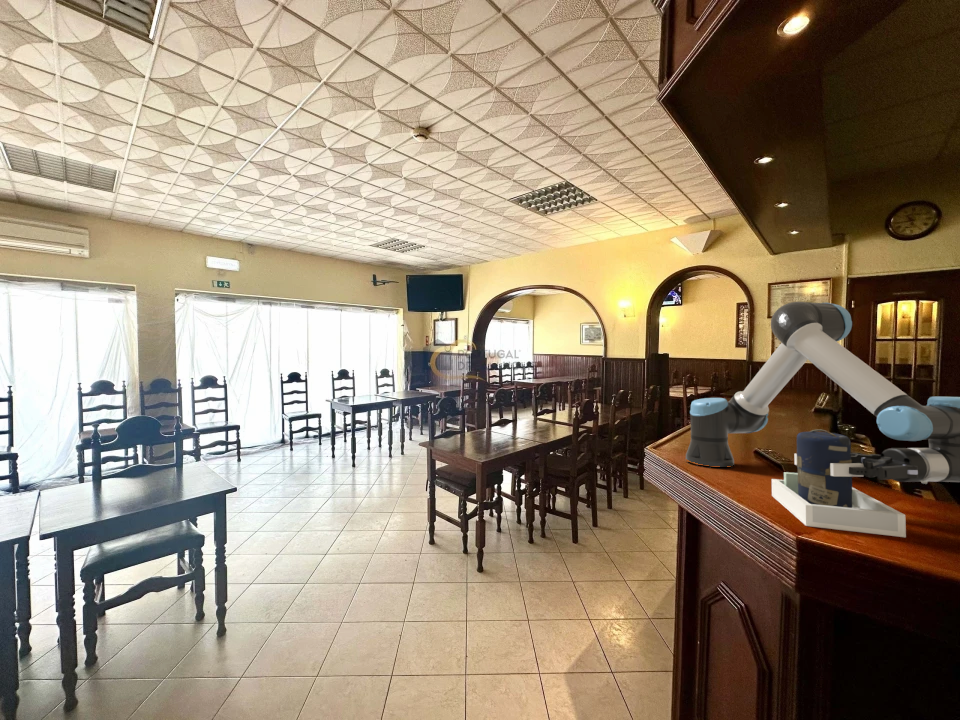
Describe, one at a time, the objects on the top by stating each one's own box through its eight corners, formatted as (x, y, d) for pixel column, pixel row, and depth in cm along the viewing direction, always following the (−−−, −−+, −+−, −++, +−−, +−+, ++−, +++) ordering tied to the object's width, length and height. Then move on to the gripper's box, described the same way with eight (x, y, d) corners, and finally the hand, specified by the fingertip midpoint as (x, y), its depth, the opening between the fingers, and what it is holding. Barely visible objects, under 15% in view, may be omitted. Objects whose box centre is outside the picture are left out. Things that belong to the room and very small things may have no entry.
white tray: (771, 495, 106) (771, 478, 106) (849, 503, 100) (848, 485, 100) (806, 525, 85) (805, 504, 85) (905, 537, 79) (905, 514, 80)
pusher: (784, 495, 102) (783, 472, 102) (846, 501, 98) (846, 476, 98) (786, 497, 101) (786, 473, 101) (849, 503, 96) (849, 478, 96)
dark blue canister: (830, 501, 95) (828, 426, 96) (865, 515, 86) (862, 432, 86) (788, 500, 96) (786, 426, 96) (818, 514, 87) (815, 432, 87)
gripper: (970, 496, 80) (858, 495, 80) (865, 469, 102) (777, 468, 102) (969, 459, 80) (857, 458, 80) (864, 439, 102) (777, 439, 102)
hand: (812, 464), depth 91 cm, fingers closed on dark blue canister, 9 cm apart
